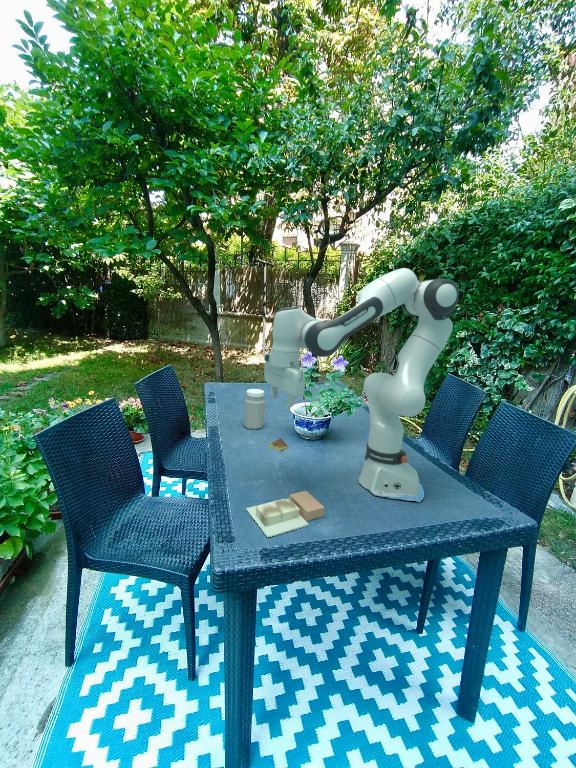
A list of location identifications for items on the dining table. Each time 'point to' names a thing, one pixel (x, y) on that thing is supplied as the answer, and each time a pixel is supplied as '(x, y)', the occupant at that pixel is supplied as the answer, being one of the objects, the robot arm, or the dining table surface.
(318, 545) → the dining table surface
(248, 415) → the jar
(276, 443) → the shard
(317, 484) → the dining table surface
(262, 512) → the birch block
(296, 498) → the terracotta step
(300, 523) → the rubber mat
